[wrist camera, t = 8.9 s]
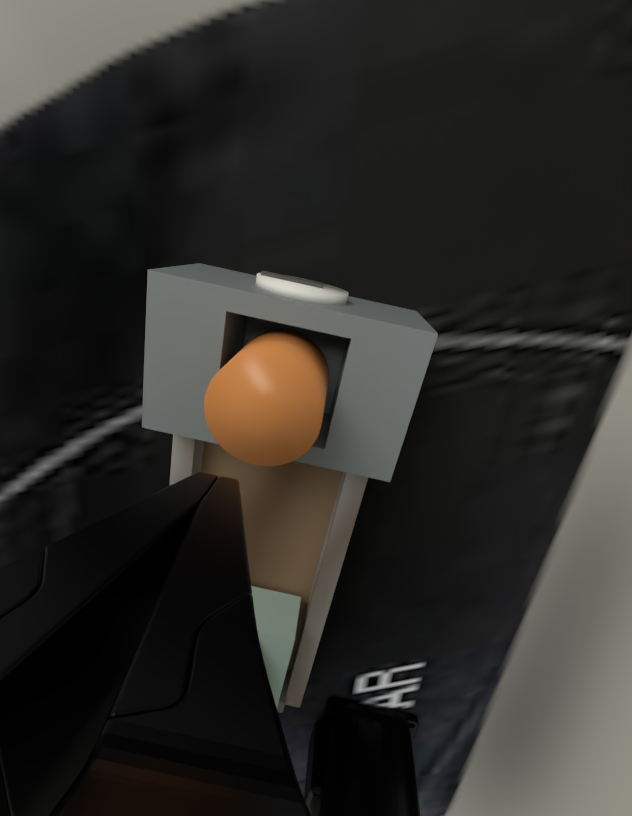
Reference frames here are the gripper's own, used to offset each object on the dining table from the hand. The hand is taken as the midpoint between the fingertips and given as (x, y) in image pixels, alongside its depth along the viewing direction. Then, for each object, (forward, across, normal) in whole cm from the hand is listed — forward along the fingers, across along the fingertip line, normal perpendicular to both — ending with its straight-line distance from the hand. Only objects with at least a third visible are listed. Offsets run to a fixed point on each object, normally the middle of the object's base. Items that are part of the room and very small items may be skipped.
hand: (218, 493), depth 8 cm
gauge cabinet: (+12, 0, 0) cm, 12 cm away
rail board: (+12, 0, +12) cm, 17 cm away
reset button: (+8, 0, 0) cm, 8 cm away
